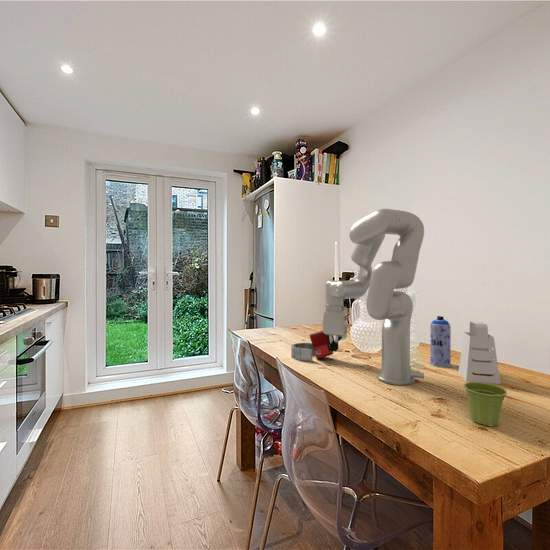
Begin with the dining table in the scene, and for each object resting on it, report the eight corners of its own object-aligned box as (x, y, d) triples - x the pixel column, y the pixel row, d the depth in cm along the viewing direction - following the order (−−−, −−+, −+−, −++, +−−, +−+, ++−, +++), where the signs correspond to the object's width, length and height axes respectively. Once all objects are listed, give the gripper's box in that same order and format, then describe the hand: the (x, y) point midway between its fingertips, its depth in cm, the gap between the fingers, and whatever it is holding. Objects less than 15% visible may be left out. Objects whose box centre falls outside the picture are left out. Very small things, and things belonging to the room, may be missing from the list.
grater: (489, 374, 124) (489, 321, 123) (500, 384, 114) (500, 325, 113) (458, 372, 126) (458, 320, 126) (466, 381, 116) (466, 324, 116)
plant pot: (489, 413, 91) (489, 381, 91) (515, 429, 81) (516, 394, 81) (456, 413, 90) (456, 382, 90) (478, 430, 81) (478, 395, 81)
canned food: (334, 354, 142) (326, 329, 144) (316, 359, 143) (309, 334, 145) (333, 353, 150) (325, 329, 152) (316, 357, 150) (309, 334, 152)
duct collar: (320, 354, 154) (320, 343, 154) (311, 361, 142) (311, 350, 142) (297, 352, 159) (297, 341, 159) (286, 358, 147) (286, 347, 147)
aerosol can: (426, 364, 137) (426, 316, 137) (435, 360, 142) (435, 314, 142) (445, 368, 131) (445, 318, 131) (454, 364, 136) (454, 316, 136)
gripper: (353, 308, 145) (353, 350, 145) (320, 307, 151) (320, 347, 152) (349, 310, 138) (349, 354, 138) (315, 309, 144) (315, 351, 145)
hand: (334, 350), depth 145 cm, fingers closed
